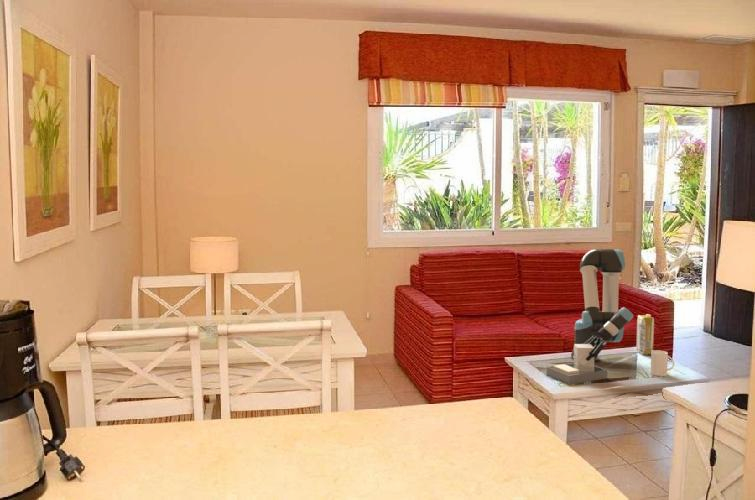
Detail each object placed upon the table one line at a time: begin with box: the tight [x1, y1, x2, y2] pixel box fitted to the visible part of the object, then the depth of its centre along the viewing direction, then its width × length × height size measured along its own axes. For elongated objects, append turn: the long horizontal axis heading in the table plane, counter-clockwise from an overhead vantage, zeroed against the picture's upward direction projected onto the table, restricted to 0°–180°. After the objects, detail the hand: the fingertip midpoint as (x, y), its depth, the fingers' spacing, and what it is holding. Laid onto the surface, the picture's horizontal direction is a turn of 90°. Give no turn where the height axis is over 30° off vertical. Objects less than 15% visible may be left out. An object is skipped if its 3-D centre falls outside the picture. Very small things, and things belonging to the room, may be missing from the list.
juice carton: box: [635, 313, 655, 356], centre depth 380 cm, size 9×8×24 cm
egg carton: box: [552, 363, 579, 375], centre depth 331 cm, size 12×7×6 cm, turn 23°
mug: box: [649, 349, 675, 377], centre depth 338 cm, size 12×8×12 cm
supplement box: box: [573, 343, 595, 374], centre depth 335 cm, size 9×9×15 cm
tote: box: [546, 362, 608, 385], centre depth 334 cm, size 18×25×5 cm
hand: (578, 361), depth 335 cm, fingers closed on supplement box, 9 cm apart
